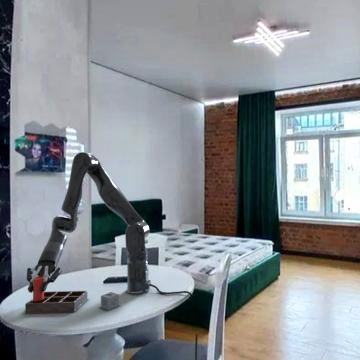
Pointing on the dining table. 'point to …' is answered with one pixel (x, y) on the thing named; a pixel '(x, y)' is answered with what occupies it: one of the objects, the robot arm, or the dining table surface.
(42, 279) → the red cylinder
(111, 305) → the dice cube
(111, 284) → the dining table surface
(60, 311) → the grid
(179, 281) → the dining table surface
